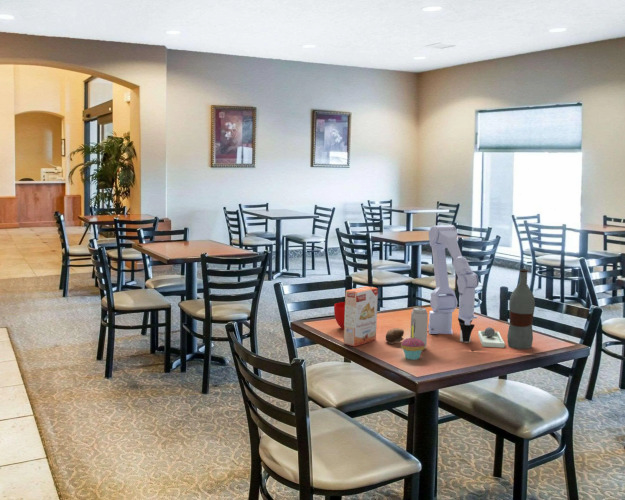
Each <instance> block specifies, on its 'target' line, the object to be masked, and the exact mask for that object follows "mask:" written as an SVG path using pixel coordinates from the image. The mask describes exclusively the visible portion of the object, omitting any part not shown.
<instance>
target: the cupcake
mask: <svg viewBox="0 0 625 500" xmlns="http://www.w3.org/2000/svg"><path fill="white" fill-rule="evenodd" d="M400 347H401V349H402V350H403V353H404V356H405V358H406V359H408V360H413V361H414V360H415V361H416V360H419V359H420V356H421V353H422V351H425V349H426V347H425V343H424V342H423V341H421V340H420V339H417V338H414V326H413V323H412V338H410V337H407V338H405V339H403V340H402V341H401V344H400Z"/></svg>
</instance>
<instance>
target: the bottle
mask: <svg viewBox="0 0 625 500" xmlns="http://www.w3.org/2000/svg"><path fill="white" fill-rule="evenodd" d="M528 271H529V270H528V269H527V268H520V271H519V283H518V284H517V286H516V287H515V288H514V290H513V291H512V292H511V294H510V296H509V303H508V307H509V326H508V330H507V346H508V347H509V348H512V349H513V348H514V349H517V350H529V349H531V348H532V346H533V341H534V336H533V335H534V334H533V332H534V331H533V321H534V313H535V308H536V307H535V306H536V302H535V301H536V300H535V296H534V293H533V292H532V290H531V288H530V287H529V284H528Z"/></svg>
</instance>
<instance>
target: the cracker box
mask: <svg viewBox="0 0 625 500" xmlns="http://www.w3.org/2000/svg"><path fill="white" fill-rule="evenodd" d="M344 293H345V294H344V295H345V296H344V302H345V319H344V330H343V344H344V345H348V346H351V347H357V346H361V345H364V344H366V343H367V344H368V343H370V342H374V341H376V340H377V320H378V319H377V318H378V299H379V288H377V287H374V286H369V285H368V286H367V285H366V286H363V287H357V288H352V289H347V290H345V292H344Z"/></svg>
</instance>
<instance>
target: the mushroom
mask: <svg viewBox="0 0 625 500" xmlns="http://www.w3.org/2000/svg"><path fill="white" fill-rule="evenodd" d="M404 333H405V331H404V330H403V328H400V327H395V328H391V329H389V330H388V331H386V334H385V341H386V342H387V343H388V344H390V345H391V344H396V343H397V344H398V343H400V342H403V341H404V340H405V339H404V338H403V336H404Z"/></svg>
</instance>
